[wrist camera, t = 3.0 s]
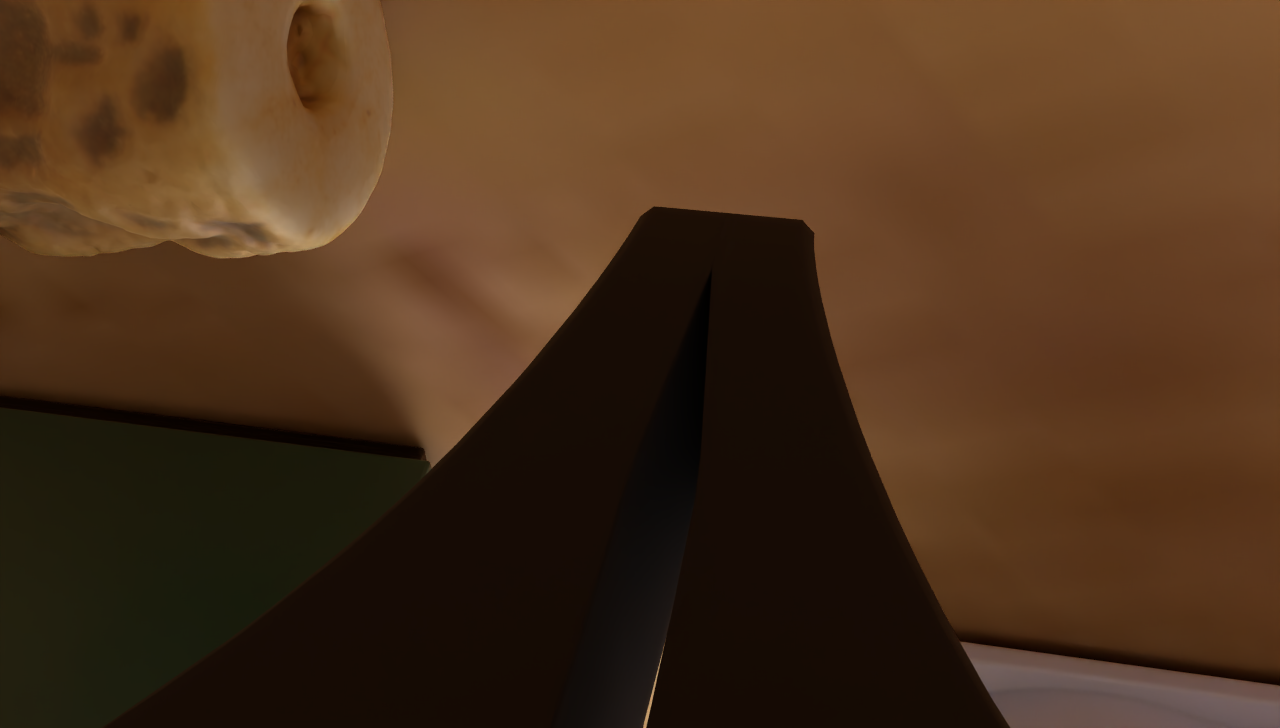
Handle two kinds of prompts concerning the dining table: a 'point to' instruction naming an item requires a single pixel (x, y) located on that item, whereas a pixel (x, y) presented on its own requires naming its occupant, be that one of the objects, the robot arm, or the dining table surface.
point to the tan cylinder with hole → (190, 123)
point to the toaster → (159, 544)
